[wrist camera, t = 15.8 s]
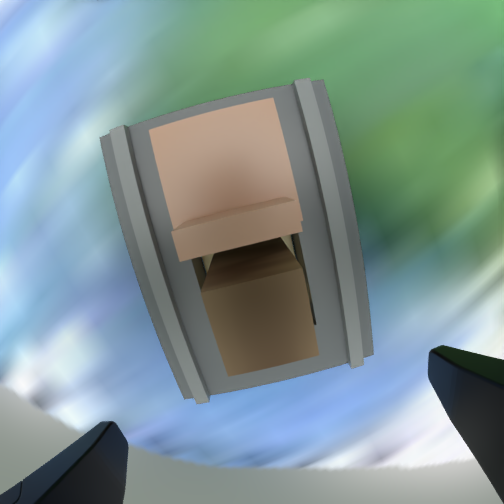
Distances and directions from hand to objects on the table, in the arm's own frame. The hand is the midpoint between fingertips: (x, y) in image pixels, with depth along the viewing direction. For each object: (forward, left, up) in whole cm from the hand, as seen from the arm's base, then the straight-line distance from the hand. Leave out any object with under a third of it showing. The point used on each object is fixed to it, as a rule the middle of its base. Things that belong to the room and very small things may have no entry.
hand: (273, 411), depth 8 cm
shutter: (0, -6, -9) cm, 11 cm away
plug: (0, 0, -12) cm, 12 cm away
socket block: (0, -2, -12) cm, 13 cm away
